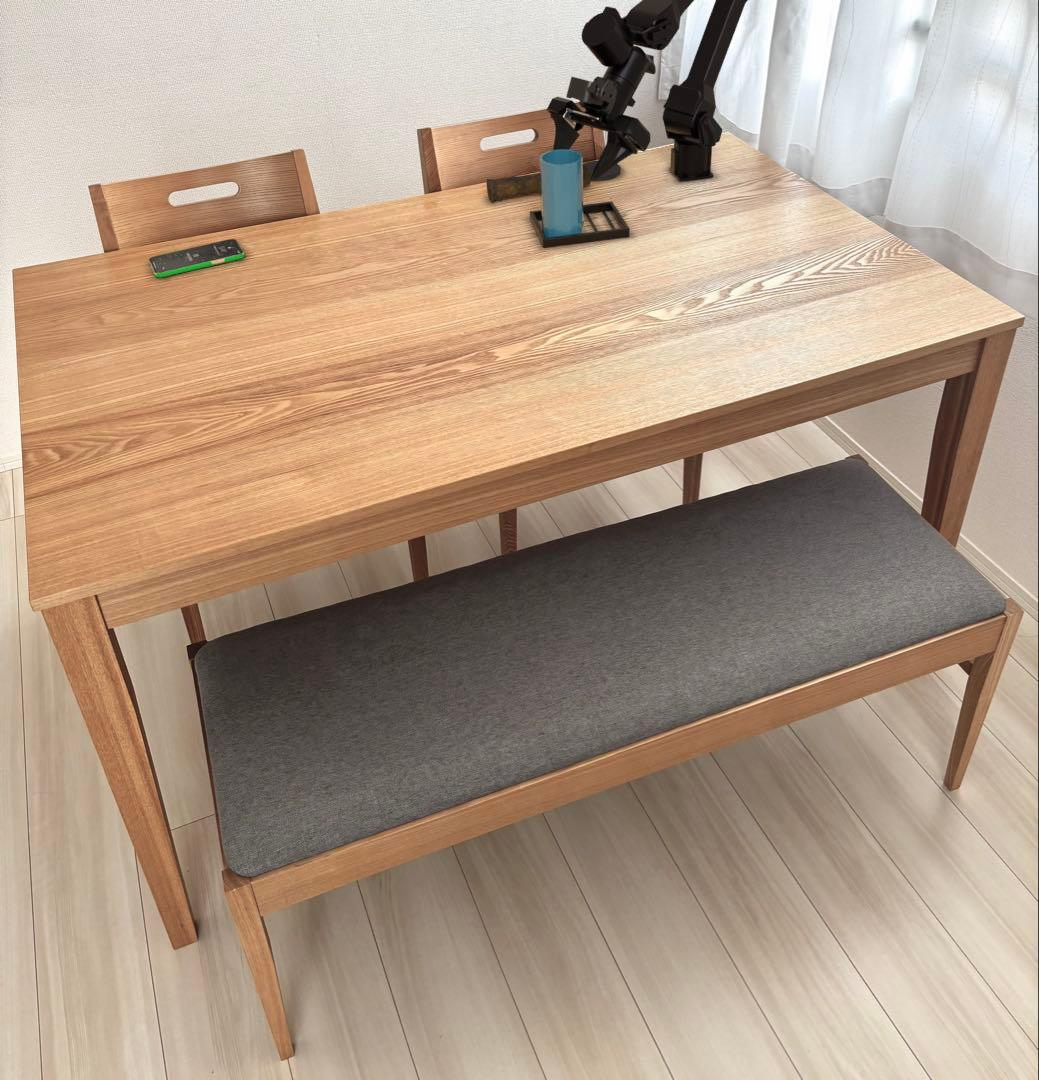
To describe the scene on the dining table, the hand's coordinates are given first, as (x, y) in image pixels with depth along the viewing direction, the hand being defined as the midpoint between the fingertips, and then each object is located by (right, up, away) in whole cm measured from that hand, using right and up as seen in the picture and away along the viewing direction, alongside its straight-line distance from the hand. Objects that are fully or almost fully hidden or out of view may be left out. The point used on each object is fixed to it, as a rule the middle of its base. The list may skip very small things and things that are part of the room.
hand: (573, 170), depth 171 cm
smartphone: (-63, -14, +5) cm, 64 cm away
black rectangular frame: (+1, -7, +7) cm, 10 cm away
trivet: (+6, +8, +25) cm, 27 cm away
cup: (-1, -9, +5) cm, 10 cm away
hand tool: (-5, +3, +19) cm, 20 cm away
